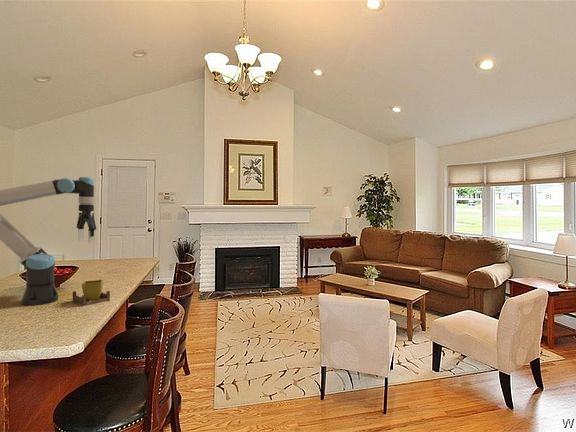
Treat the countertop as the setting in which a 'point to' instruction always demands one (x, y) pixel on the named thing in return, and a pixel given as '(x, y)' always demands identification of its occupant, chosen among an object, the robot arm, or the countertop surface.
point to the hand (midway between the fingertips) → (86, 241)
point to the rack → (84, 302)
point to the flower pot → (92, 289)
